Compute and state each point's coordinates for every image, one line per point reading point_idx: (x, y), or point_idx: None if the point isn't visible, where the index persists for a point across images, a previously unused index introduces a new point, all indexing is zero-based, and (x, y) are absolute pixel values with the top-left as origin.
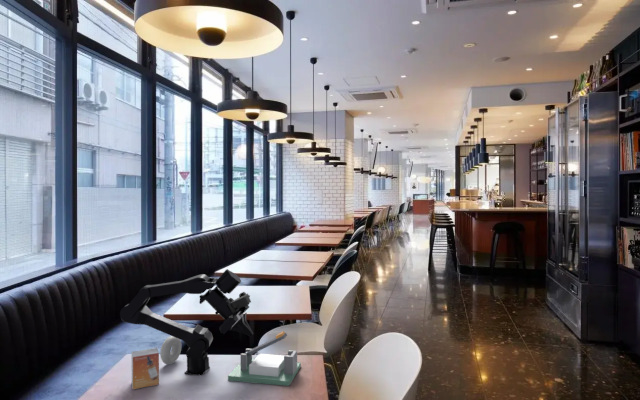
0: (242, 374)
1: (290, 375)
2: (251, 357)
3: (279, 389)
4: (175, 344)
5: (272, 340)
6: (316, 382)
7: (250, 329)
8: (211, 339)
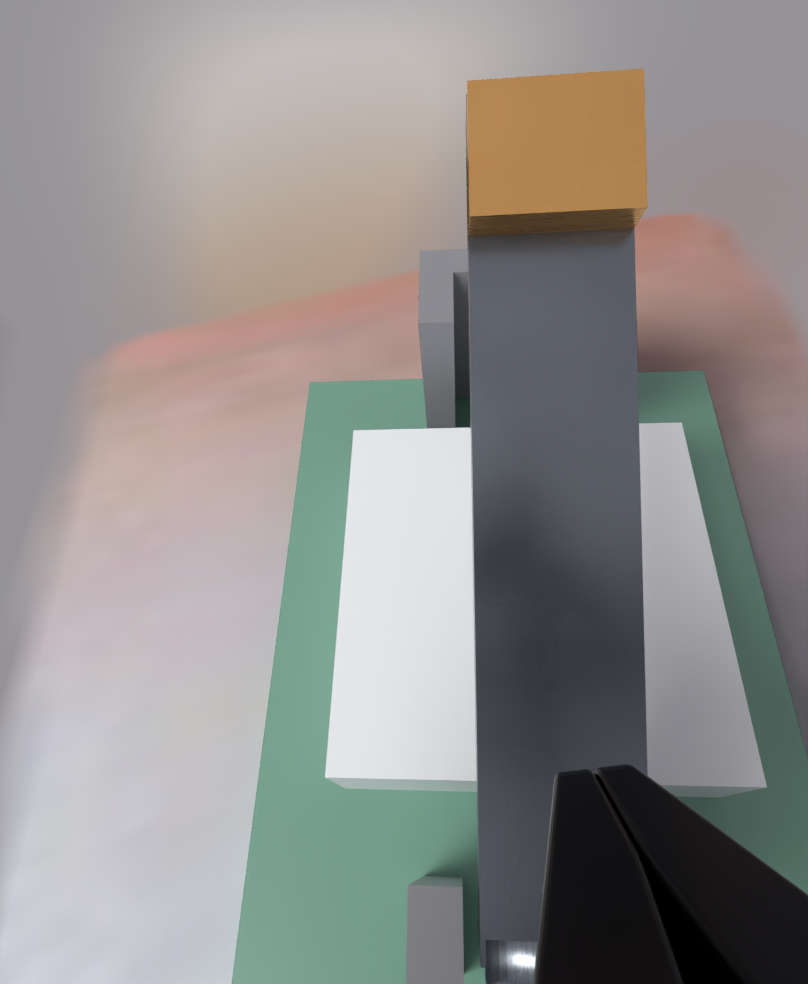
0: None
1: None
2: (446, 880)
3: (779, 442)
4: None
5: (601, 331)
6: None
7: (620, 880)
8: None
